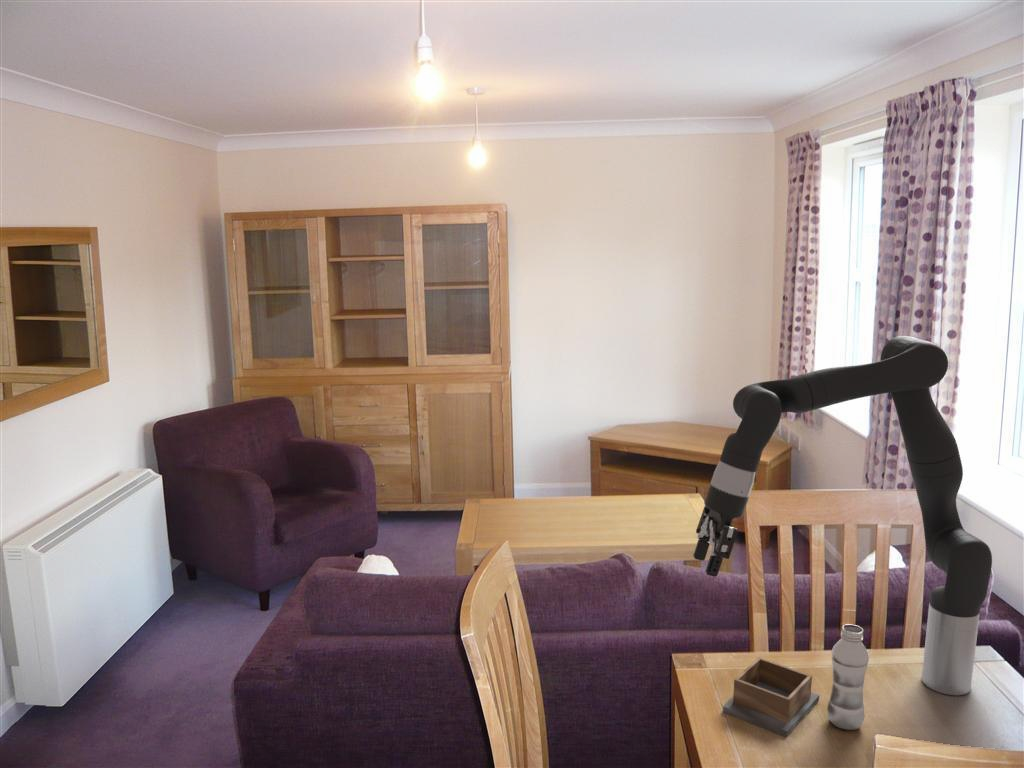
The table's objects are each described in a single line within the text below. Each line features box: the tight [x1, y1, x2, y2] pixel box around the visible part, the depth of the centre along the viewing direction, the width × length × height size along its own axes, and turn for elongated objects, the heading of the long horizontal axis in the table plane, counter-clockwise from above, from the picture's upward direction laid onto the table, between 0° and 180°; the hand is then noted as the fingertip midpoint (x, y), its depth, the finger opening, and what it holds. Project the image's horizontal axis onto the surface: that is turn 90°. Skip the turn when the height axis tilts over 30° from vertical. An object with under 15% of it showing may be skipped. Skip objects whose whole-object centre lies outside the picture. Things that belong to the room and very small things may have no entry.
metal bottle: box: [826, 623, 870, 731], centre depth 164 cm, size 6×7×20 cm
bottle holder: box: [722, 656, 820, 738], centre depth 172 cm, size 16×13×6 cm
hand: (704, 566), depth 167 cm, fingers open, 8 cm apart
